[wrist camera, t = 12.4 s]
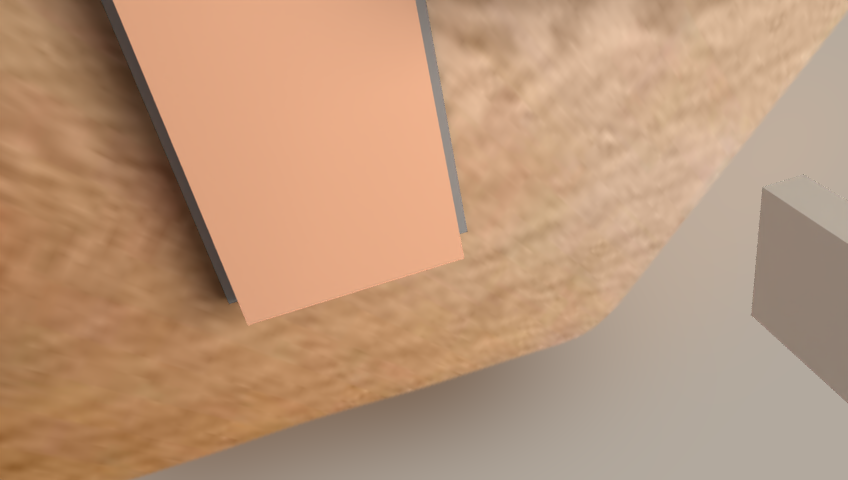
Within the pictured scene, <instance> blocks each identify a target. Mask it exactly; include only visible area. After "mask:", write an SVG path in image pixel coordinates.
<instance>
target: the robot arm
mask: <svg viewBox="0 0 848 480" xmlns="http://www.w3.org/2000/svg"><path fill="white" fill-rule="evenodd" d="M751 315H752V316H753V317H754V318H755V319H756V320H757V321H758V322H759V323H761V325H763V326H764V327H765V328H766V329H767V330H768V331H769V332H770V333H771V334H772V335H774V336H775V337H776V338H777V339H778V340H779V341H780V342H781V343H782V344H784V345H785V346H786V347H787V348H788V349H789V350H790V351H791V352H792V353H793V354H794V355H796V356H797V357H798V358H799V359H800V360H801V361H802V362H803V363H805V365H807V366H808V367H809V368H810V369H811V370H812V371H813V372H814V373H815V374H816V375H818V376H819V377H820V378H821V379H822V380H823V381H824V382H825V383H826V384H827V385H829V386H830V387H831V388H832V389H833V390H834V391H835V392H836V393H837V394H838V395H839V396H841V397H842V398H843V399H844V400H845V401H846V402H847V403H848V200H846V199H844V198H842V197H841V196H839V195H838V194H836V193H834V192H833V191H831V190H829V189H827V188H826V187H824V186H822V185H821V184H819V183H817V182H816V181H814V180H812V179H811V178H809V177H807V176H806V175H804V174H803V175H800V176H797V177H794V178H790V179H787V180H784V181H781V182H778V183H775V184H772V185H768V186H765V187H763V188H762V199H761V211H760V222H759V233H758V245H757V256H756V267H755V279H754V290H753V302H752V313H751Z"/></svg>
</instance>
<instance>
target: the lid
mask: <svg viewBox="0 0 848 480" xmlns="http://www.w3.org/2000/svg"><path fill="white" fill-rule="evenodd" d="M113 2H114V5H115V7H116V9H117V12H118V14H119V17H120V19H121V21H122V24H123V26H124V29H125V31H126V33H127V36H128V38H129V41H130V43H131V45H132V48H133V50H134V53H135V55H136V58H137V60H138V62H139V65H140V67H141V70H142V72H143V74H144V77H145V79H146V82H147V84H148V86H149V89H150V91H151V94H152V96H153V98H154V101H155V103H156V106H157V108H158V110H159V113H160V115H161V118H162V120H163V122H164V125H165V127H166V130H167V132H168V135H169V137H170V139H171V142H172V144H173V147H174V149H175V151H176V154H177V156H178V159H179V161H180V163H181V166H182V168H183V171H184V173H185V175H186V178H187V180H188V183H189V185H190V187H191V190H192V192H193V195H194V197H195V199H196V202H197V204H198V207H199V209H200V212H201V214H202V216H203V219H204V221H205V224H206V226H207V228H208V231H209V233H210V236H211V238H212V240H213V243H214V245H215V248H216V250H217V252H218V255H219V257H220V260H221V262H222V264H223V267H224V269H225V272H226V274H227V277H228V279H229V281H230V284H231V286H232V289H233V291H234V293H235V296H236V298H237V301H238V303H239V305H240V308H241V310H242V313H243V315H244V317H245V320H246V322H247V325H251V324H254V323H257V322H261V321H264V320H267V319H270V318H274V317H277V316H280V315H283V314H286V313H290V312H293V311H296V310H299V309H303V308H306V307H309V306H312V305H316V304H319V303H322V302H325V301H328V300H332V299H335V298H338V297H341V296H345V295H348V294H351V293H354V292H357V291H361V290H364V289H367V288H370V287H374V286H377V285H380V284H383V283H387V282H390V281H393V280H396V279H399V278H403V277H406V276H409V275H412V274H416V273H419V272H422V271H425V270H428V269H432V268H435V267H438V266H441V265H445V264H448V263H451V262H454V261H457V260H461V259H464V254H463V249H462V243H461V238H460V233H459V228H458V222H457V217H456V212H455V207H454V201H453V196H452V191H451V185H450V180H449V175H448V170H447V164H446V159H445V154H444V149H443V143H442V138H441V133H440V128H439V122H438V117H437V112H436V106H435V101H434V96H433V91H432V85H431V80H430V75H429V70H428V64H427V59H426V54H425V48H424V43H423V38H422V33H421V27H420V22H419V17H418V12H417V6H416V1H415V0H113Z"/></svg>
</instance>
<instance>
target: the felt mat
mask: <svg viewBox="0 0 848 480" xmlns="http://www.w3.org/2000/svg"><path fill="white" fill-rule="evenodd" d="M415 1H416V6H417V12H418V17H419V22H420V27H421V33H422V38H423V43H424V48H425V54H426V59H427V64H428V70H429V75H430V80H431V85H432V91H433V96H434V101H435V106H436V112H437V117H438V122H439V128H440V133H441V138H442V143H443V149H444V154H445V159H446V164H447V170H448V175H449V180H450V185H451V191H452V196H453V201H454V207H455V212H456V217H457V222H458V228H459V233H460V234H461V233H464V232H467V227H466V221H465V216H464V210H463V205H462V199H461V194H460V188H459V182H458V177H457V171H456V166H455V160H454V155H453V149H452V144H451V138H450V133H449V127H448V121H447V116H446V110H445V105H444V99H443V94H442V88H441V83H440V77H439V72H438V66H437V61H436V55H435V49H434V44H433V38H432V33H431V27H430V22H429V16H428V11H427V5H426V0H415ZM101 2H102V4H103V7H104V9H105V11H106V14H107V16H108V18H109V21H110V23H111V25H112V28H113V30H114V33H115V35H116V37H117V40H118V42H119V44H120V47H121V49H122V51H123V54H124V56H125V59H126V61H127V63H128V66H129V68H130V70H131V73H132V75H133V78H134V80H135V82H136V85H137V87H138V89H139V92H140V94H141V96H142V99H143V101H144V104H145V106H146V108H147V111H148V113H149V115H150V118H151V120H152V122H153V125H154V127H155V130H156V132H157V134H158V137H159V139H160V141H161V144H162V146H163V149H164V151H165V153H166V156H167V158H168V160H169V163H170V165H171V167H172V170H173V172H174V175H175V177H176V179H177V182H178V184H179V186H180V189H181V191H182V193H183V196H184V198H185V201H186V203H187V205H188V208H189V210H190V212H191V215H192V217H193V219H194V222H195V224H196V227H197V229H198V231H199V234H200V236H201V238H202V241H203V243H204V246H205V248H206V250H207V253H208V255H209V257H210V260H211V262H212V264H213V267H214V269H215V272H216V274H217V276H218V279H219V281H220V283H221V286H222V288H223V290H224V293H225V295H226V298H227V300H228V302H229V304H231V303H234V302H237V298H236V296H235V293H234V291H233V289H232V286H231V284H230V281H229V279H228V277H227V274H226V272H225V269H224V267H223V264H222V262H221V260H220V257H219V255H218V252H217V250H216V248H215V245H214V243H213V240H212V238H211V236H210V233H209V231H208V228H207V226H206V224H205V221H204V219H203V216H202V214H201V212H200V209H199V207H198V204H197V202H196V199H195V197H194V195H193V192H192V190H191V187H190V185H189V183H188V180H187V178H186V175H185V173H184V171H183V168H182V166H181V163H180V161H179V159H178V156H177V154H176V151H175V149H174V147H173V144H172V142H171V139H170V137H169V135H168V132H167V130H166V127H165V125H164V122H163V120H162V118H161V115H160V113H159V110H158V108H157V106H156V103H155V101H154V98H153V96H152V94H151V91H150V89H149V86H148V84H147V82H146V79H145V77H144V74H143V72H142V70H141V67H140V65H139V62H138V60H137V58H136V55H135V53H134V50H133V48H132V45H131V43H130V41H129V38H128V36H127V33H126V31H125V29H124V26H123V24H122V21H121V19H120V17H119V14H118V12H117V9H116V7H115V5H114V2H113V0H101Z"/></svg>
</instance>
